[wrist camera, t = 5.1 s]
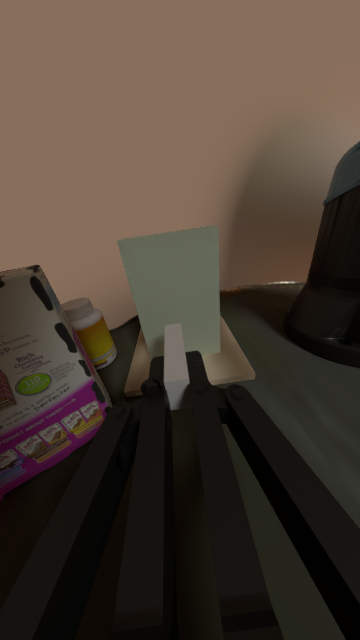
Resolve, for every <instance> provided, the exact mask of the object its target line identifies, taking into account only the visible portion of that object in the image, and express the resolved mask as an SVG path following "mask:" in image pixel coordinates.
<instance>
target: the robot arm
mask: <svg viewBox="0 0 360 640" xmlns="http://www.w3.org/2000/svg"><path fill="white" fill-rule="evenodd" d="M323 205H324V206H325V207H324V211H323V215H322V220H321V224H320V228H319V232H318V237H317V241H316V245H315V249H314V254H313V258H312V262H311V266H310V270H309V274H308V278H307V281H306V283H305V285H304V286H303V288H302V290H301V291H300V293H299V295H298V296H297V298H296V300H295V302H294V303H293V305H292V306H291V307H290V308H289V309H288V311H287V313H286V317H285V322H284V329H285V331H286V333H287V334H288V336H289V337H290V338H291V339H292V340H293V341H294V342H296V343H297V344H299V345H300V346H302V347H303V348H305V349H307V350H308V351H310V352H312V353H315V354H317V355H319V356H322V357H324V358H327V359H330V360H333V361H336V362H339V363H343V364H347V365H351V366H356V367H360V141H359V142H358V143H357V144H356V145H354V146H353V147H352V148H351V149H349V150H348V151H347V152H346V153H345V155H344V156H343V157H342V158H341V160H340V161H339V163H338V164H337V166H336V169H335V172H334V175H333V178H332V181H331V185H330V188H329V192H328V195H327V198H326V199H325V200H324V203H323ZM140 389H141V392H142V395H143V397H142V398H141V399H139V400H137V401H135V402H133V403H131V404H129V403H128V402H126V401H121V402H118V403H116V404H115V405H113V406H112V407H111V409H110V410H109V412H108V413H107V415H106V417H105V419H104V421H103V423H102V424H101V426H100V428H99V430H98V432H97V434H96V435H95V437H94V439H93V441H92V443H91V445H90V446H89V448H88V450H87V452H86V454H85V456H84V457H83V459H82V461H81V463H80V465H79V467H78V468H77V470H76V472H75V474H74V476H73V478H72V479H71V481H70V483H69V485H68V487H67V489H66V490H65V492H64V494H63V496H62V498H61V500H60V501H59V503H58V505H57V507H56V509H55V511H54V512H53V514H52V516H51V518H50V520H49V522H48V523H47V525H46V527H45V529H44V531H43V533H42V534H41V536H40V538H39V540H38V542H37V544H36V545H35V547H34V549H33V551H32V553H31V555H30V556H29V558H28V560H27V562H26V564H25V566H24V567H23V569H22V571H21V573H20V575H19V577H18V578H17V580H16V582H15V584H14V586H13V587H12V589H11V591H10V593H9V595H8V597H7V598H6V600H5V602H4V604H3V606H2V608H1V609H0V640H74V639H75V636H76V633H77V630H78V627H79V623H80V620H81V617H82V614H83V611H84V608H85V605H86V602H87V599H88V596H89V593H90V590H91V587H92V584H93V581H94V578H95V575H96V572H97V569H98V566H99V563H100V560H101V557H102V554H103V551H104V548H105V545H106V542H107V539H108V536H109V533H110V530H111V527H112V524H113V521H114V518H115V515H116V512H117V509H118V506H119V503H120V500H121V497H122V494H123V491H124V488H125V485H126V482H127V479H128V476H129V473H130V469H131V466H132V463H133V460H134V457H135V463H134V471H133V478H132V485H131V493H130V500H129V508H128V515H127V523H126V530H125V537H124V545H123V552H122V560H121V567H120V574H119V582H118V589H117V597H116V604H115V612H114V618H113V624H112V628H111V632H110V635H109V638H108V640H179V631H178V623H177V601H176V564H175V528H174V491H173V454H172V419H171V415H170V408H171V410H176V409H183V408H190V407H192V409H193V417H194V424H195V431H196V438H197V446H198V453H199V460H200V468H201V475H202V482H203V489H204V497H205V504H206V511H207V519H208V526H209V533H210V540H211V548H212V555H213V562H214V569H215V577H216V584H217V591H218V599H219V606H220V613H221V621H222V629H223V636H224V640H284V638H283V635H282V632H281V629H280V626H279V624H278V621H277V618H276V616H275V613H274V611H273V608H272V605H271V602H270V598H269V595H268V592H267V588H266V584H265V581H264V577H263V573H262V570H261V566H260V562H259V559H258V555H257V551H256V548H255V544H254V540H253V537H252V533H251V530H250V526H249V522H248V519H247V515H246V511H245V508H244V504H243V500H242V497H241V493H240V489H239V486H238V482H237V479H236V475H235V471H234V468H233V464H232V460H231V457H230V453H229V449H228V446H227V442H226V438H225V435H224V431H223V427H222V424H221V423H223V424H227V426H228V428H229V430H230V432H231V433H232V435H233V437H234V439H235V441H236V442H237V444H238V446H239V448H240V450H241V451H242V453H243V455H244V457H245V459H246V460H247V462H248V464H249V466H250V468H251V469H252V471H253V473H254V475H255V477H256V478H257V480H258V482H259V484H260V486H261V487H262V489H263V491H264V493H265V495H266V496H267V498H268V500H269V502H270V504H271V506H272V507H273V509H274V511H275V513H276V515H277V516H278V518H279V520H280V522H281V524H282V525H283V527H284V529H285V531H286V533H287V534H288V536H289V538H290V540H291V542H292V543H293V545H294V547H295V549H296V551H297V552H298V554H299V556H300V558H301V560H302V561H303V563H304V565H305V567H306V569H307V570H308V572H309V574H310V576H311V578H312V579H313V581H314V583H315V585H316V587H317V588H318V590H319V592H320V594H321V596H322V597H323V599H324V601H325V603H326V605H327V606H328V608H329V610H330V612H331V614H332V615H333V617H334V619H335V621H336V623H337V624H338V626H339V628H340V630H341V632H342V633H343V635H344V637H345V639H346V640H360V529H359V528H358V526H357V525H356V524H355V523H354V521H353V520H352V519H351V518H350V517H349V515H348V514H347V513H346V512H345V510H344V509H343V508H342V507H341V505H340V504H339V503H338V502H337V500H336V499H335V498H334V497H333V496H332V494H331V493H330V492H329V491H328V489H327V488H326V487H325V486H324V484H323V483H322V482H321V481H320V479H319V478H318V477H317V476H316V475H315V473H314V472H313V471H312V470H311V468H310V467H309V466H308V465H307V463H306V462H305V461H304V460H303V458H302V457H301V456H300V455H299V454H298V452H297V451H296V450H295V449H294V447H293V446H292V445H291V444H290V442H289V441H288V440H287V439H286V437H285V436H284V435H283V434H282V432H281V431H280V430H279V429H278V428H277V426H276V425H275V424H274V423H273V421H272V420H271V419H270V418H269V416H268V415H267V414H266V413H265V411H264V410H263V409H262V408H261V407H260V405H259V404H258V403H257V402H256V400H255V399H254V398H253V397H252V395H251V394H250V393H249V392H248V390H247V389H245V388H244V387H243V386H241V385H236V384H234V385H230V386H228V387H227V388H226V389H223V388H218V387H215V386H213V385H212V384H211V383H210V382H209V380H208V377H207V373H206V370H205V366H204V362H203V359H202V355H201V353H200V352H199V351H198V350H197V351H190V352H185V347H184V341H183V334H182V327H181V323H178V324H171V325H165V347H164V356H159V357H153V359H152V361H151V362H150V370H149V378H148V379H147V380H145V381H144V382H143V383H142V384H141V387H140ZM135 454H136V456H135Z"/></svg>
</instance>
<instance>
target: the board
mask: <svg viewBox="0 0 360 640" xmlns="http://www.w3.org/2000/svg"><path fill="white" fill-rule="evenodd" d="M202 359H203V362H204V366H205V370H206V373H207V377H208V380H209V382H210V383H211V384H212V385H217V384H224V383H231V382H238V381H245V380H252V379H255V372H254V370H253V368H252V367H251V365H250V363H249V362H248V360H247V358H246V357H245V355H244V353H243V352H242V350H241V348H240V347H239V345H238V343H237V342H236V340H235V338H234V337H233V335H232V333H231V331H230V330H229V328H228V326H227V325H226V323H225V321H224V320H223V318H222V316H221V315H220V353H213V354H206V355H202ZM150 362H151V359H150V355H149V352H148V348H147V345H146V341H145V338H144V334H143V331H142V327H141V329H140V333H139V337H138V341H137V344H136V348H135V352H134V356H133V359H132V363H131V367H130V371H129V374H128V378H127V382H126V385H125V389H124V394H125V396H126V397H132V396H139V395H142V392H141V389H140V387H141V384H142V383H143V382H144V381H145V380H147V379H148V378H149V370H150Z"/></svg>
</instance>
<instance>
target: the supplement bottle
mask: <svg viewBox="0 0 360 640" xmlns="http://www.w3.org/2000/svg"><path fill="white" fill-rule="evenodd" d="M61 306H62V308H63V310H64V312H65V313H66V315H67V317H68V319H69V321H70V323H71V325H72V327H73V328H74V330H75V332H76V334H77V336H78V338H79V340H80V341H81V343H82V345H83V347H84V349H85V351H86V353H87V355H88V356H89V358H90V360H91V362H92V364H93V365H94V367H95V369H96V370H99V369H102V368H104V367H106V366H107V365H109V364H110V363H111V362H112V361H113V360H114V359H115V357H116V355H117V350H116V347H115V345H114V343H113V340H112V338H111V335H110V333H109V330H108V328H107V325H106V323H105V321H104V318H103V316H102V313H101V312H100V311H99V310H97V309H93V306H92V304H91V302H90V300H89V299H88V298H79V299H75V300H71V301H68V302H66V303H64V304H62V305H61Z"/></svg>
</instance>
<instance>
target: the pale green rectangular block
mask: <svg viewBox="0 0 360 640" xmlns="http://www.w3.org/2000/svg"><path fill="white" fill-rule="evenodd" d="M218 235H219V234H218V226H207V227H200V228H194V229H187V230H181V231H174V232H167V233H160V234H154V235H147V236H140V237H133V238H127V239H122V240H118V241H117V243H118V246H119V250H120V253H121V257H122V260H123V264H124V267H125V271H126V274H127V277H128V281H129V285H130V288H131V292H132V295H133V299H134V303H135V306H136V310H137V313H138V317H139V320H140V324H141V327H142V331H143V334H144V338H145V341H146V345H147V348H148V352H149V355H150V359H151V361H152V359H153V357H159V356H164V347H165V325H171V324H178V323H181V327H182V334H183V341H184V347H185V352H190V351H197V350H198V351H199V352H200V353H201V355H206V354H213V353H220V294H219V238H218V237H219V236H218Z"/></svg>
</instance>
